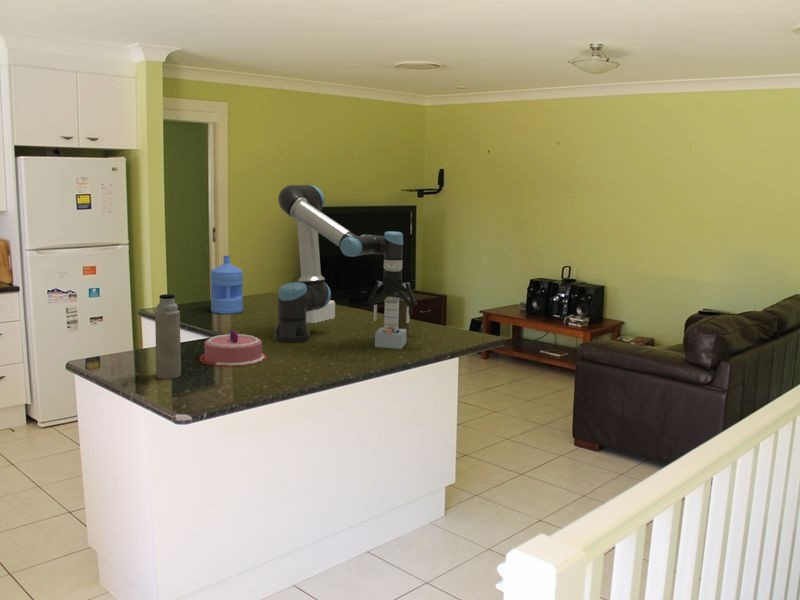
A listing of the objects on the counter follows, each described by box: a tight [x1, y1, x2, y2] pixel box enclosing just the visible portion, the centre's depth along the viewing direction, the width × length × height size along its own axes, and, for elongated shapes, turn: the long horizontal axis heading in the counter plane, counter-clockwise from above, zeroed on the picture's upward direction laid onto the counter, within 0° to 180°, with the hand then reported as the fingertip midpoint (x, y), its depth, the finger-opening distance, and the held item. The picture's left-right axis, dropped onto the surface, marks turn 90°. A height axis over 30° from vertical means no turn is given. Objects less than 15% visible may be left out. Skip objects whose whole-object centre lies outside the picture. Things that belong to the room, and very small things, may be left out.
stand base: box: [374, 327, 407, 350], centre depth 301 cm, size 13×13×9 cm
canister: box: [388, 292, 411, 338], centre depth 319 cm, size 11×10×20 cm
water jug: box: [210, 255, 244, 315], centre depth 363 cm, size 16×16×28 cm
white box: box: [306, 299, 336, 324], centre depth 353 cm, size 18×18×16 cm
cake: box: [198, 329, 268, 368], centre depth 276 cm, size 25×25×11 cm
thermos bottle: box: [154, 293, 182, 380], centre depth 248 cm, size 8×8×28 cm
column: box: [383, 296, 400, 333], centre depth 300 cm, size 5×7×19 cm
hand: (391, 321), depth 300 cm, fingers open, 13 cm apart
